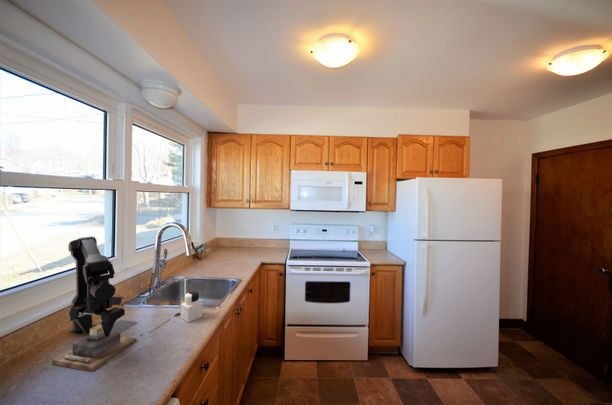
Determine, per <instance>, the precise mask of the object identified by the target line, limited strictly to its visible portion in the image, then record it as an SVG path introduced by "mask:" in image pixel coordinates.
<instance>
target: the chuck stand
mask: <svg viewBox="0 0 612 405" xmlns="http://www.w3.org/2000/svg"><path fill="white" fill-rule="evenodd" d="M136 342H137V338H135V337H128V336H124V335H123V336H122V335H121V333H120V332H114V331H111V333H110V335H109V336H108V337H104V338H103V339H101V340H99V341H97V342H92V341H90V334H89V335H87V336H85V337H83V338H81V339H79V340H77V341H75V342H74V343H72V349H70V350H69V351H66V352H64V353H63V354H60V355H58V356H57V357H55V358H53V359H52V360H51V365H53V366H59V367H65V368H71V369H76V370H82V371H87V372H94V371H95V370H97V369H98V368H99V367H101V366H103V365H104V364H105V363H107V361H109V360H110V359H111V358H112V357H114V356H116V355H117V354H119V353H121V352H122V351H123V350H125V349H126V348H128V347H130V346H131V345H132V344H134V343H136Z"/></svg>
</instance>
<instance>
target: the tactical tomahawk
mask: <svg viewBox="0 0 612 405" xmlns="http://www.w3.org/2000/svg"><path fill="white" fill-rule="evenodd" d="M179 316H181V312H177V313H176V314H174V315H173V317H175V318H176V317H179ZM171 320H172V319H171V318H169V319H167V320H165V322H163V323H162V324H160V325H158V326H157V327H155V328H154V329H152V330H150V331H149V332H148V334H150V333H152V332H154V331H155V330H158V329H159V328H160V327H161V326H163V325H165V324H167V323H168V322H170V321H171ZM143 335H144V334H143V333H142V334H140V335H139V337H142V336H143Z"/></svg>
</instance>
